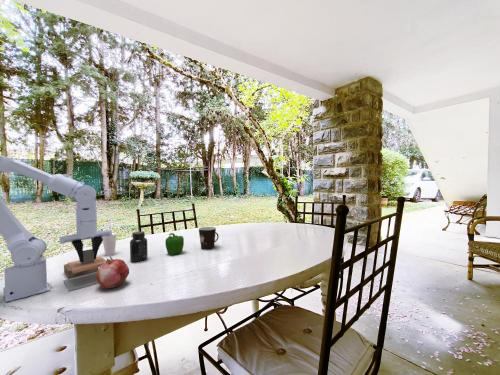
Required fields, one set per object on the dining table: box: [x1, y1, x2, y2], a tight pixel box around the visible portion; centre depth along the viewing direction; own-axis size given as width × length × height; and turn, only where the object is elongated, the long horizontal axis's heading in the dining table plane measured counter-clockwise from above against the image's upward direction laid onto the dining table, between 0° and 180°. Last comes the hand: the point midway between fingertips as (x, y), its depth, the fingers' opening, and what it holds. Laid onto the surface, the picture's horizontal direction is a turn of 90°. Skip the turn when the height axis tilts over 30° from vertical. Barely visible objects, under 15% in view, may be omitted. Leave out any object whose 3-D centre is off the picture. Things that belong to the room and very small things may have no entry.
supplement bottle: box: [129, 231, 149, 264], centre depth 99 cm, size 7×7×12 cm
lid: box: [67, 248, 107, 273], centre depth 79 cm, size 10×10×5 cm
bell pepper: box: [164, 232, 185, 256], centre depth 108 cm, size 8×8×10 cm
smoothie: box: [102, 224, 118, 257], centre depth 108 cm, size 6×6×14 cm
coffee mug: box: [198, 226, 220, 251], centre depth 115 cm, size 12×9×10 cm
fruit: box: [96, 255, 130, 289], centre depth 74 cm, size 9×10×10 cm
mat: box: [63, 272, 99, 292], centre depth 79 cm, size 12×11×1 cm
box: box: [63, 263, 100, 279], centre depth 86 cm, size 9×9×3 cm
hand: (88, 260), depth 78 cm, fingers closed on lid, 3 cm apart
